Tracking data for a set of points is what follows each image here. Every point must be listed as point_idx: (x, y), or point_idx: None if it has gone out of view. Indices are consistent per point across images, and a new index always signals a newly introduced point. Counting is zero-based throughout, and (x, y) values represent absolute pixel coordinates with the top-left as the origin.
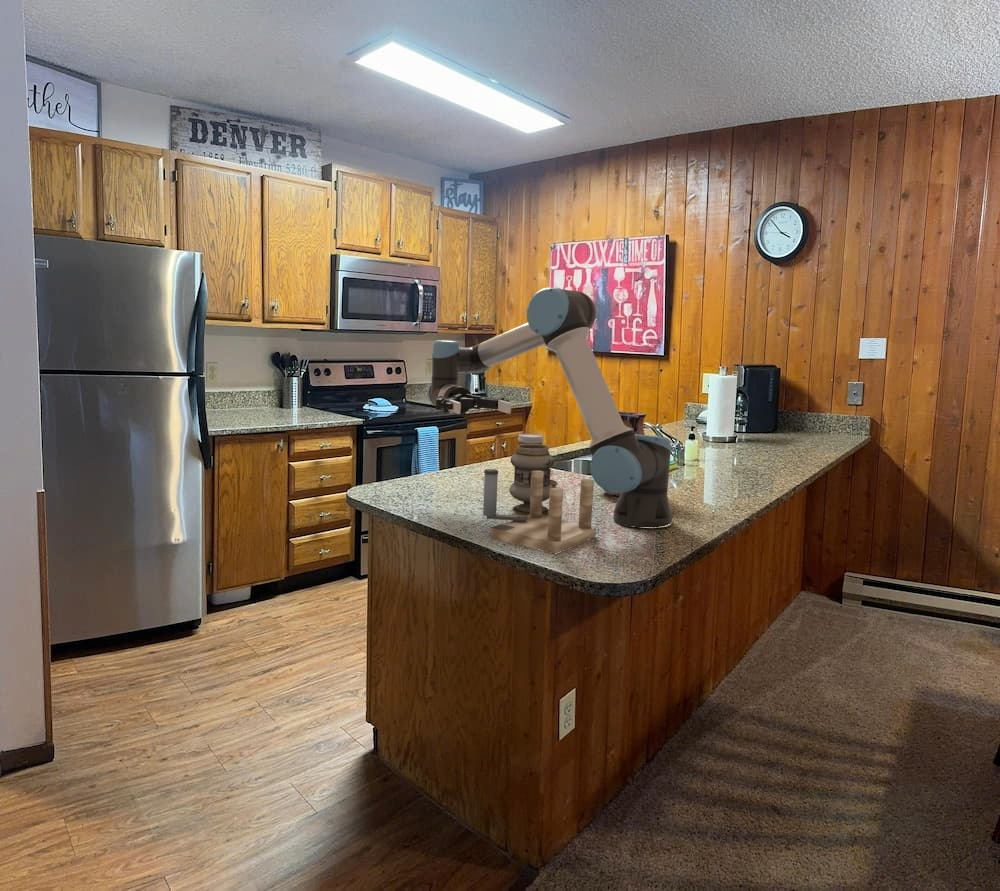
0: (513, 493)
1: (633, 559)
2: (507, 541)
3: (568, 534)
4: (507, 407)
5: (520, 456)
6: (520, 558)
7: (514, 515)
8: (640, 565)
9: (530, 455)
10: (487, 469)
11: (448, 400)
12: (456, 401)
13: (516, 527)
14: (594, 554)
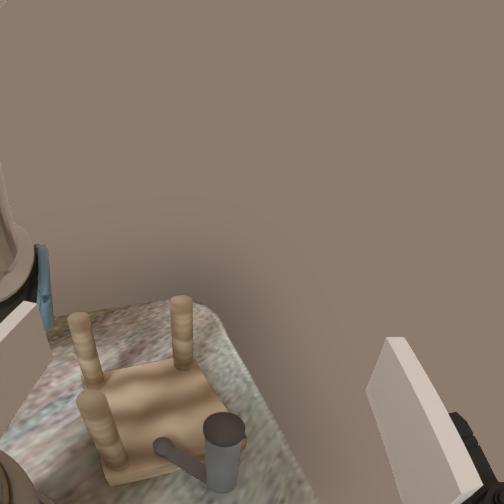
0: None
1: (123, 326)
2: None
3: (146, 370)
4: (38, 336)
5: (19, 500)
6: (245, 369)
7: (171, 459)
8: (133, 315)
9: (3, 469)
10: (228, 440)
11: (483, 501)
12: (417, 394)
13: (199, 425)
14: (147, 349)
